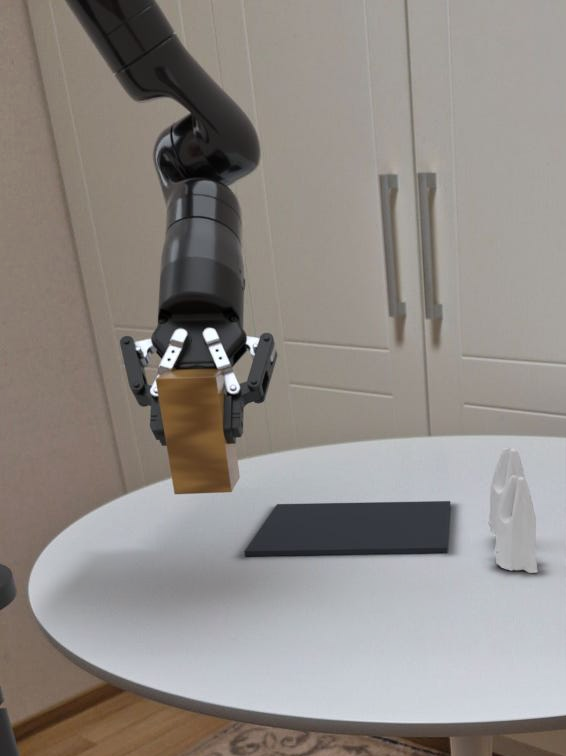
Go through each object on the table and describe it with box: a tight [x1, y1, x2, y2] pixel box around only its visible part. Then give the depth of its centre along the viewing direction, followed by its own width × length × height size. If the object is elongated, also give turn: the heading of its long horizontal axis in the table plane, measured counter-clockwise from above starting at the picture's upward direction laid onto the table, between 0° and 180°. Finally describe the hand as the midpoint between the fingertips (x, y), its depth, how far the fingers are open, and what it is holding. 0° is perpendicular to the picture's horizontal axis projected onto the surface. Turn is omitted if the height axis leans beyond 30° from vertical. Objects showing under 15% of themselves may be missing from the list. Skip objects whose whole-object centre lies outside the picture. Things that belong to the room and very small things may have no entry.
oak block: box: [155, 369, 241, 495], centre depth 79 cm, size 5×5×10 cm
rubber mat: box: [243, 500, 451, 557], centre depth 104 cm, size 22×18×1 cm
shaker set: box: [487, 447, 539, 574], centre depth 93 cm, size 12×4×11 cm, turn 5°
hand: (197, 439), depth 78 cm, fingers closed on oak block, 5 cm apart
